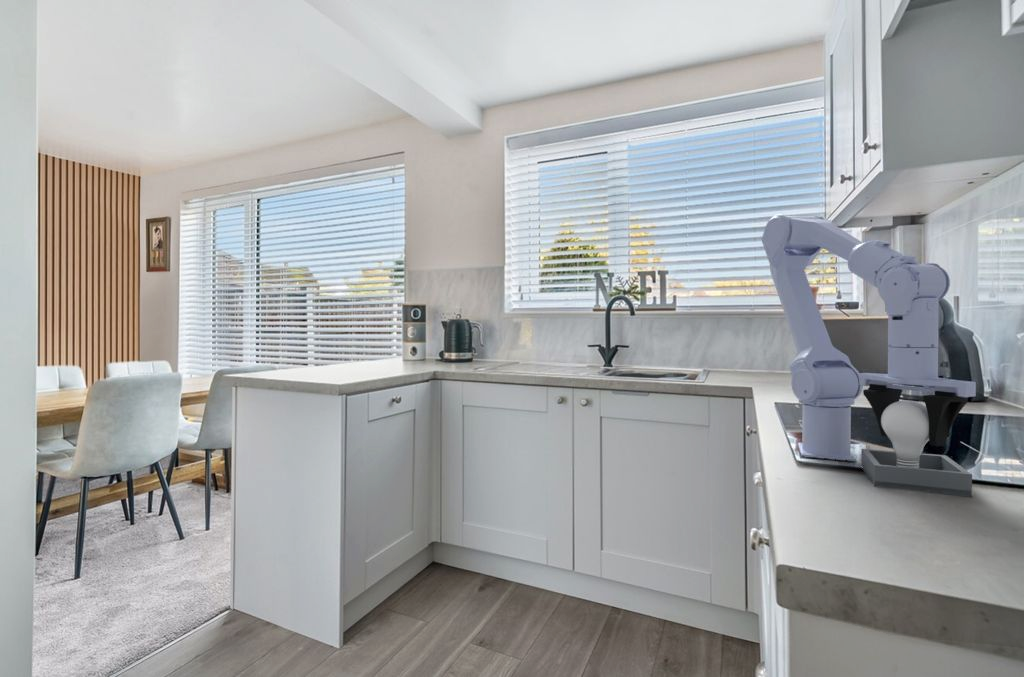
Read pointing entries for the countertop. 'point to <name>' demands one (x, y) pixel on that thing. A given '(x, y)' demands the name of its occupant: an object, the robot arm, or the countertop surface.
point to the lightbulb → (906, 430)
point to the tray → (917, 473)
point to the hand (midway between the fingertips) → (911, 440)
